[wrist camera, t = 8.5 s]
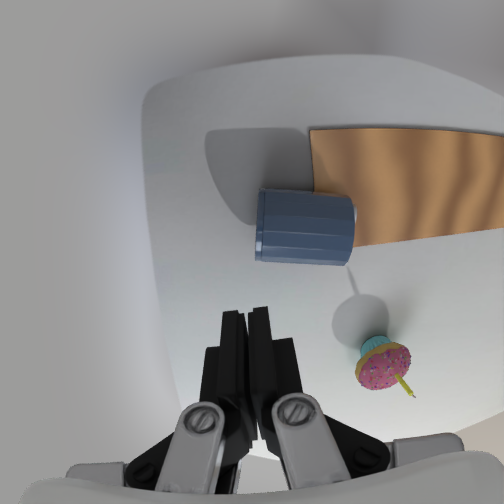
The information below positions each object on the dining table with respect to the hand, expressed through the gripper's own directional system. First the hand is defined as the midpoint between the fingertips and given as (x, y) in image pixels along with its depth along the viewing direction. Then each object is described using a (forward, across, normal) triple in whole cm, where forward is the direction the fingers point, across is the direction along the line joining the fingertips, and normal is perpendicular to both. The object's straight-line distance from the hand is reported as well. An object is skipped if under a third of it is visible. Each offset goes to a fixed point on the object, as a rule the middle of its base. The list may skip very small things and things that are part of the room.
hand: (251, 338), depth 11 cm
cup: (+20, -1, +3) cm, 20 cm away
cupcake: (+23, -16, +26) cm, 39 cm away
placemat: (+23, -27, +2) cm, 36 cm away
